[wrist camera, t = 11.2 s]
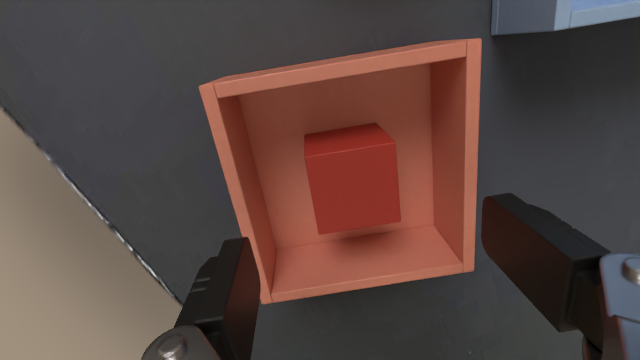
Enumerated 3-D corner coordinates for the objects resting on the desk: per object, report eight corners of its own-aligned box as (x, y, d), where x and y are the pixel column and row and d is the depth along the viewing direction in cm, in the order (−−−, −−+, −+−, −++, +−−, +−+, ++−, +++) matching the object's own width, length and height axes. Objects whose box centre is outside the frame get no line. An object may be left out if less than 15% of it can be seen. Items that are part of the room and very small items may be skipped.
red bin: (270, 253, 21) (261, 305, 17) (224, 76, 17) (197, 85, 13) (439, 226, 21) (474, 271, 17) (436, 40, 17) (482, 37, 12)
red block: (315, 199, 19) (318, 235, 15) (304, 134, 18) (304, 157, 14) (382, 188, 19) (401, 222, 15) (376, 122, 18) (395, 142, 14)
